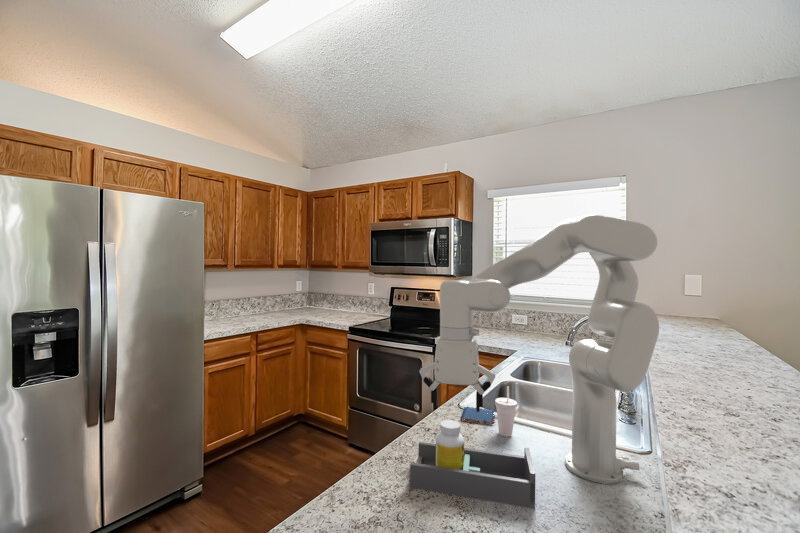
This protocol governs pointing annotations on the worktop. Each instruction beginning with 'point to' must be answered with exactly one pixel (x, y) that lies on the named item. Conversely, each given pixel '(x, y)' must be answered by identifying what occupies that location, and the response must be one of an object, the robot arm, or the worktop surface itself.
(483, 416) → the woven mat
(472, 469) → the pusher paddle
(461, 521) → the worktop surface
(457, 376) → the robot arm
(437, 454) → the pill bottle
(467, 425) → the worktop surface
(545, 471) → the worktop surface
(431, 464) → the tray
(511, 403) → the smoothie
